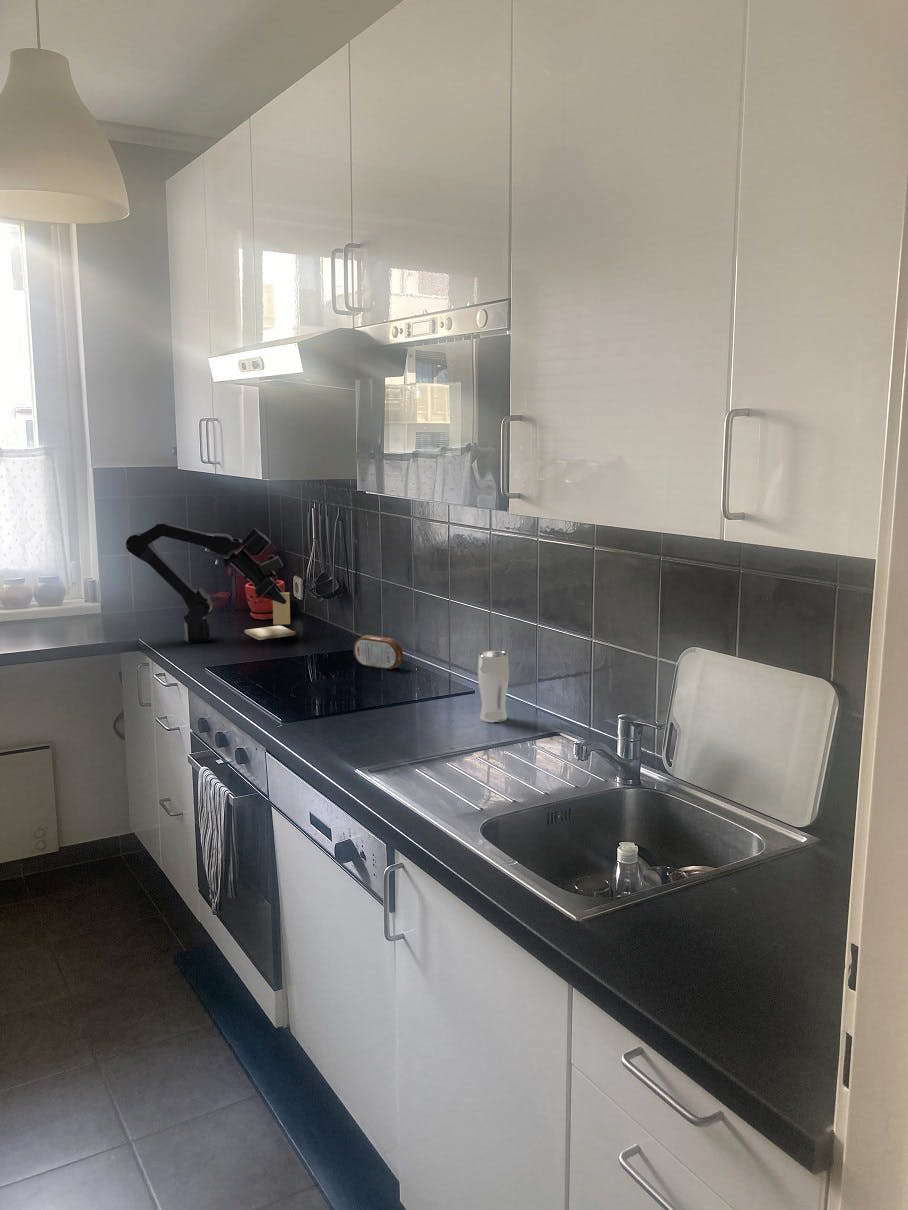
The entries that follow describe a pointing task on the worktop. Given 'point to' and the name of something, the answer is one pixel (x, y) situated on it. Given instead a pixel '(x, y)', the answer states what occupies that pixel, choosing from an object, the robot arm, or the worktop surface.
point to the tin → (378, 652)
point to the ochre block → (281, 611)
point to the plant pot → (261, 602)
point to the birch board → (269, 632)
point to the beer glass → (493, 684)
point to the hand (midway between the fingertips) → (285, 601)
